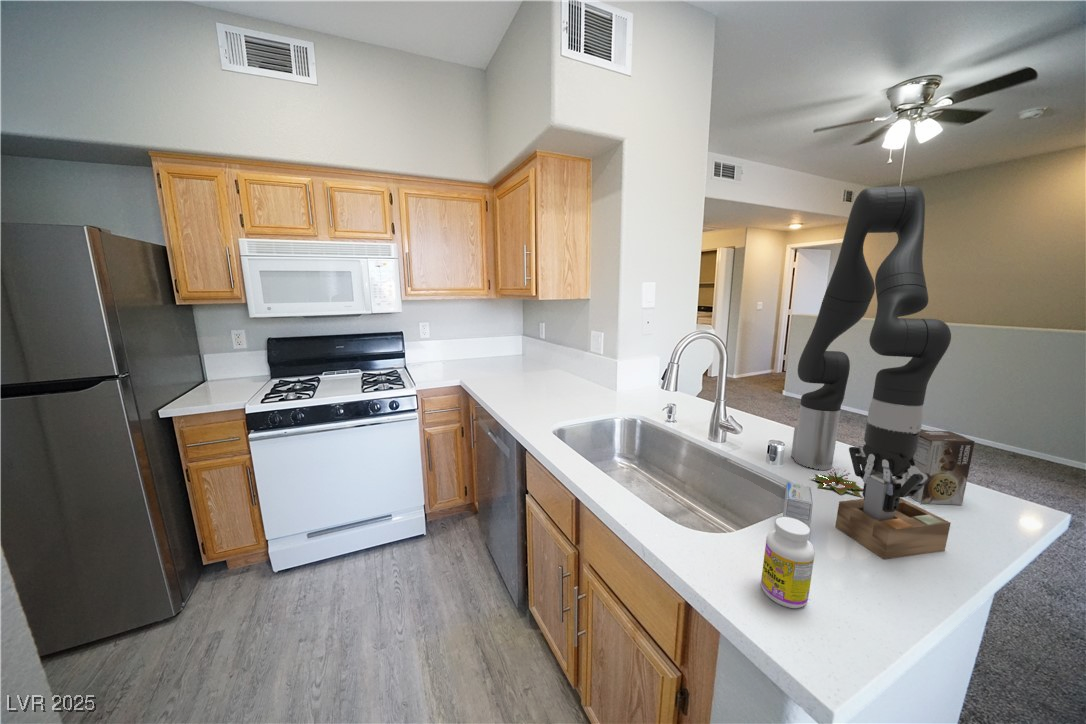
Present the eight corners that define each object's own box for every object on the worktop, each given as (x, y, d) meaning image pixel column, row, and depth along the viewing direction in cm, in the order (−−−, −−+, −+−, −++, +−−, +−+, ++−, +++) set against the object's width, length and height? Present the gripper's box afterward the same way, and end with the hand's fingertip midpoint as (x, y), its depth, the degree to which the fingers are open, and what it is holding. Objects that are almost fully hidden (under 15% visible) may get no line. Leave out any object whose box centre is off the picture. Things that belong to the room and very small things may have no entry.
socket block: (835, 526, 80) (839, 500, 79) (890, 520, 82) (894, 493, 81) (884, 559, 70) (889, 529, 69) (944, 550, 73) (951, 521, 71)
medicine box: (808, 543, 75) (813, 503, 74) (782, 535, 78) (786, 497, 76) (806, 522, 82) (811, 486, 80) (782, 516, 84) (786, 480, 83)
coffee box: (937, 491, 94) (950, 430, 91) (963, 505, 88) (977, 440, 85) (898, 489, 95) (909, 429, 92) (920, 504, 88) (933, 439, 85)
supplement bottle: (752, 580, 66) (759, 513, 63) (787, 577, 66) (796, 511, 64) (778, 612, 59) (787, 539, 57) (818, 609, 60) (828, 536, 57)
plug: (861, 521, 77) (867, 474, 75) (875, 519, 77) (881, 471, 75) (878, 531, 73) (884, 481, 71) (891, 528, 74) (898, 479, 72)
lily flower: (807, 472, 105) (809, 456, 105) (862, 483, 99) (864, 467, 98) (810, 491, 95) (812, 474, 95) (871, 504, 89) (874, 487, 88)
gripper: (841, 413, 77) (830, 489, 81) (918, 439, 64) (901, 530, 67) (872, 411, 79) (860, 486, 82) (954, 436, 65) (935, 525, 68)
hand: (878, 505), depth 74 cm, fingers closed on plug, 3 cm apart
